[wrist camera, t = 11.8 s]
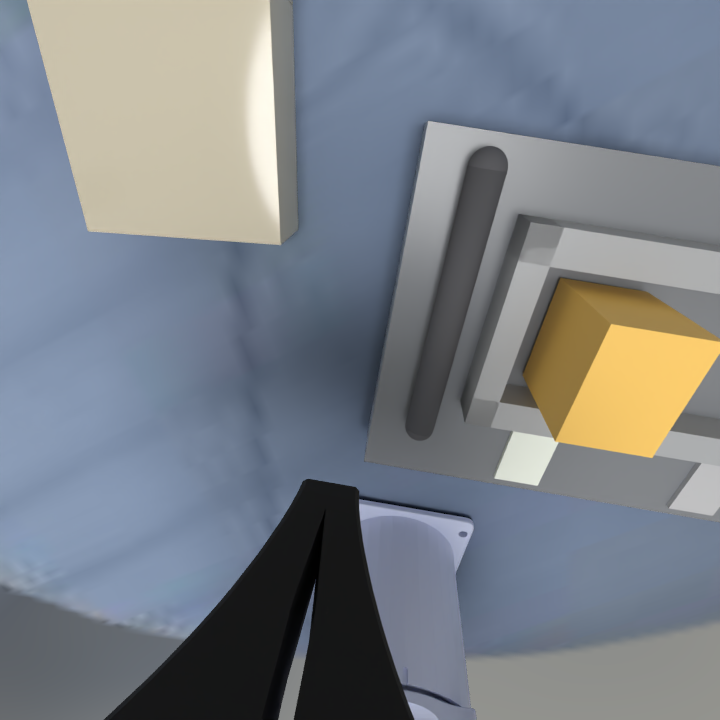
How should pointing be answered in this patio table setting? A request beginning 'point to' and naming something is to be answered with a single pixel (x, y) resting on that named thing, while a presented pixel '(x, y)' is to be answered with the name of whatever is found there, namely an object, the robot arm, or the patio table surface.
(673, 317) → the block
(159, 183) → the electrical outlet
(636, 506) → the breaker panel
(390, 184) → the patio table surface
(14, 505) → the patio table surface
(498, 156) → the cable on side
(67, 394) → the patio table surface
